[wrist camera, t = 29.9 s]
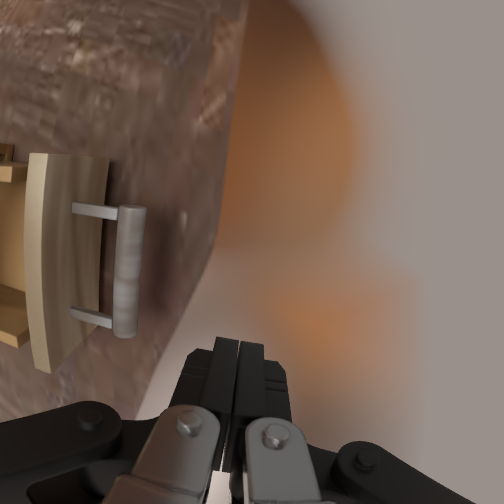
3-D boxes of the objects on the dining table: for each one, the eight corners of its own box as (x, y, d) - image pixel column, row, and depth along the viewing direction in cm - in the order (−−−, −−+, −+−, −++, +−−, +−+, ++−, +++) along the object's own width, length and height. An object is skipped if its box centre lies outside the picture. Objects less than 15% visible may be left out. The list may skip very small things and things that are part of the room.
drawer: (172, 165, 18) (129, 160, 12) (153, 338, 21) (118, 397, 14) (-22, 151, 18) (-82, 152, 11) (-23, 283, 20) (-75, 310, 14)
